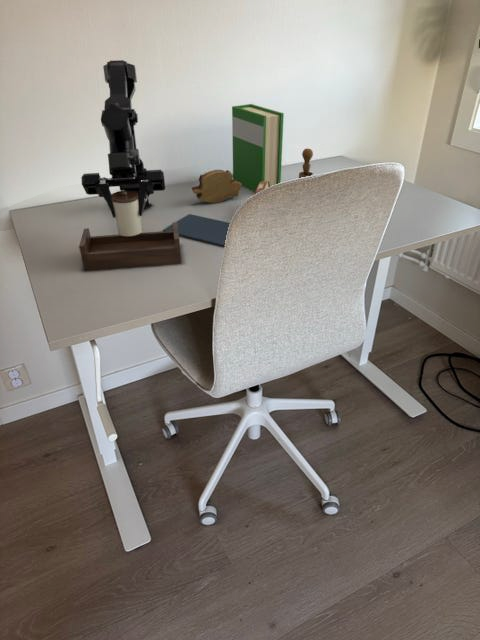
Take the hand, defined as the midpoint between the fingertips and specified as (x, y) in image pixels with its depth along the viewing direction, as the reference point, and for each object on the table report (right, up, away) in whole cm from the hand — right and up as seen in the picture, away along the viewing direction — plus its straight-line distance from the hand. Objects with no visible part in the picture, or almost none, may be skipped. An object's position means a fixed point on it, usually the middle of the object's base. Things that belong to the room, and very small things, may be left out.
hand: (127, 216), depth 109 cm
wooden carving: (+19, +13, +39) cm, 45 cm away
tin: (+33, +8, +31) cm, 46 cm away
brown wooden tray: (0, -9, +8) cm, 12 cm away
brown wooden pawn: (+46, +9, +33) cm, 57 cm away
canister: (0, -3, +4) cm, 5 cm away
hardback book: (+32, +22, +51) cm, 64 cm away
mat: (+17, +1, +21) cm, 27 cm away
